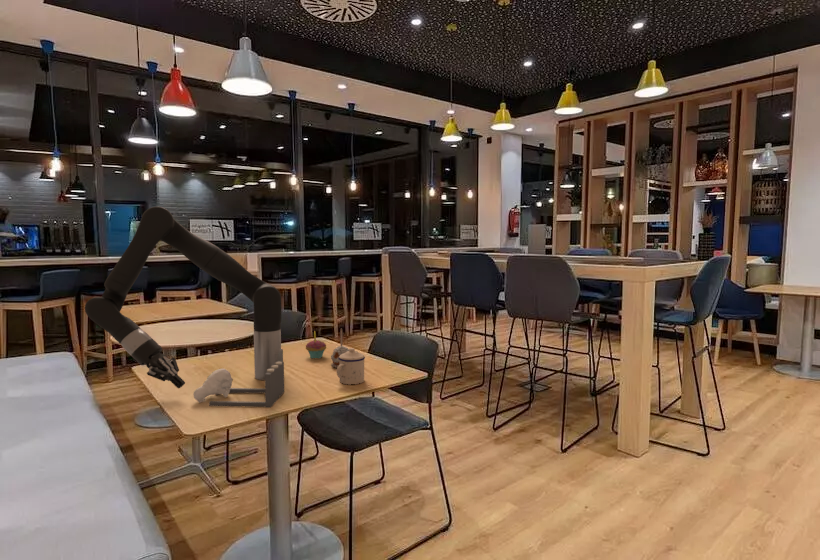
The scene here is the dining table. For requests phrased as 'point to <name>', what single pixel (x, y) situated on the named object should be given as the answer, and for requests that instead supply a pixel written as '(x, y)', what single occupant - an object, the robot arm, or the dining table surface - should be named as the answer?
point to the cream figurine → (214, 385)
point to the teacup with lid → (351, 367)
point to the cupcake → (316, 348)
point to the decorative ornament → (338, 352)
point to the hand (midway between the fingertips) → (182, 385)
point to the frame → (261, 389)
